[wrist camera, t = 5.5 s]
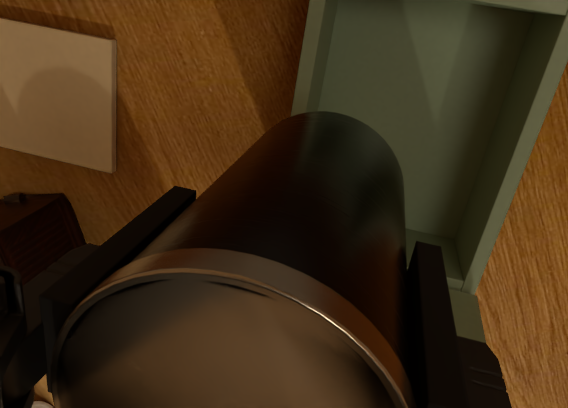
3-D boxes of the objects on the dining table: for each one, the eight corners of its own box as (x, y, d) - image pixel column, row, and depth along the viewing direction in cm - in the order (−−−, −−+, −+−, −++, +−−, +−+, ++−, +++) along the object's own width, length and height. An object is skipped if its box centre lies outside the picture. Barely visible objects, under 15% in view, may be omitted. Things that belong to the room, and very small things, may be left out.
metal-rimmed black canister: (252, 93, 19) (33, 225, 8) (426, 127, 18) (476, 336, 7) (235, 242, 22) (59, 499, 11) (384, 278, 21) (368, 605, 10)
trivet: (-8, 14, 38) (-16, 15, 37) (117, 39, 36) (111, 40, 35) (5, 144, 42) (-2, 146, 41) (116, 170, 41) (111, 174, 40)
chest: (333, -35, 31) (316, -45, 25) (550, 0, 29) (592, -1, 23) (290, 206, 38) (269, 244, 32) (461, 246, 36) (474, 296, 30)
